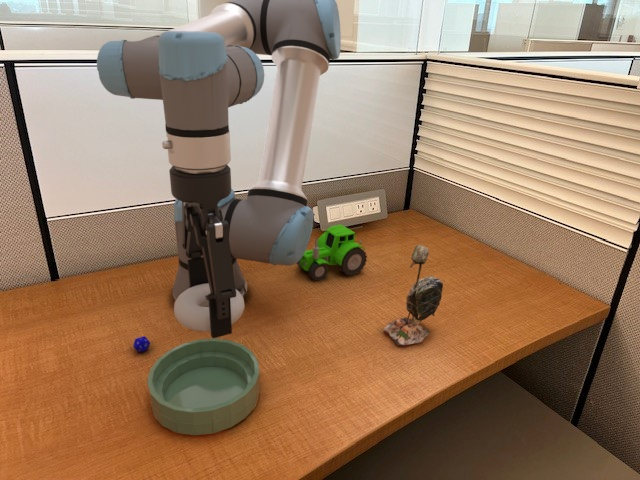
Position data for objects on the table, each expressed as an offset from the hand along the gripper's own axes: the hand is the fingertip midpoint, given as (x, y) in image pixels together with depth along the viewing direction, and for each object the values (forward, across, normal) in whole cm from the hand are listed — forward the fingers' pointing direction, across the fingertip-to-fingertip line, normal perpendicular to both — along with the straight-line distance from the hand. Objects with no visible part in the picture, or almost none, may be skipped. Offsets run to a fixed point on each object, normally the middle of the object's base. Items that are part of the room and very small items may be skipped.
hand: (210, 314), depth 69 cm
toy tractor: (+15, -29, +37) cm, 49 cm away
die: (+15, -16, -8) cm, 23 cm away
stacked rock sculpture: (+15, 0, +39) cm, 41 cm away
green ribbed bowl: (+15, 0, -1) cm, 15 cm away
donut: (0, 0, 0) cm, 0 cm away
